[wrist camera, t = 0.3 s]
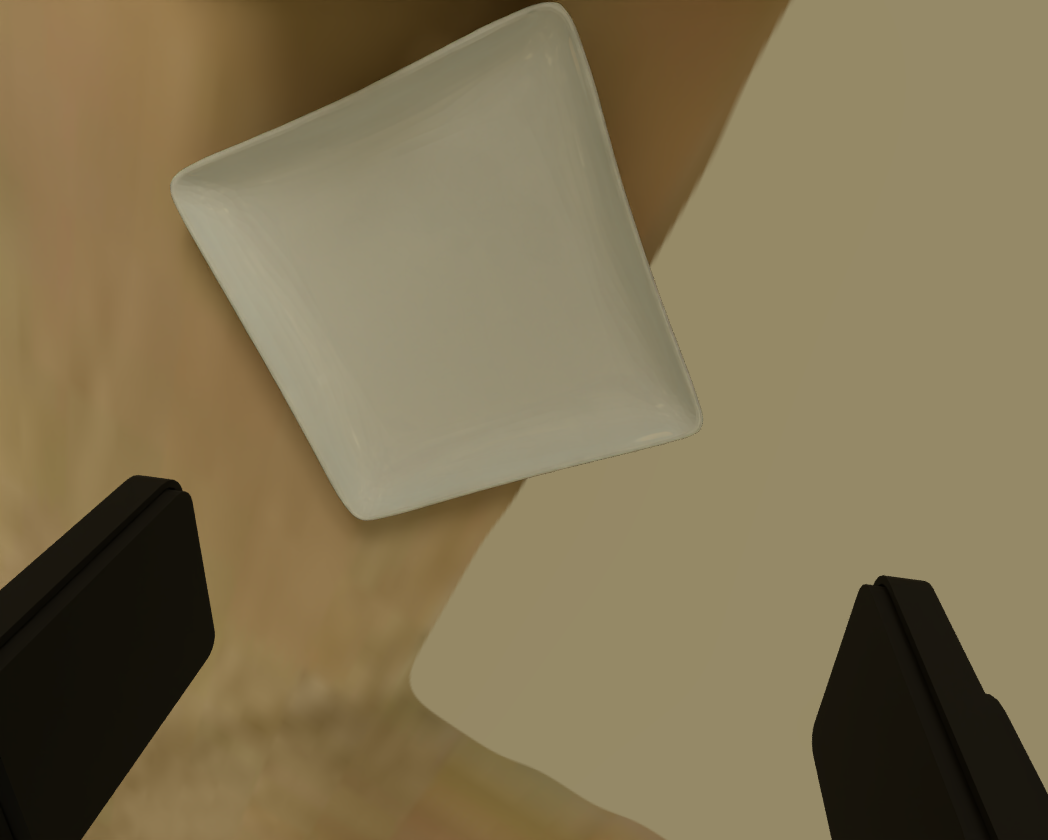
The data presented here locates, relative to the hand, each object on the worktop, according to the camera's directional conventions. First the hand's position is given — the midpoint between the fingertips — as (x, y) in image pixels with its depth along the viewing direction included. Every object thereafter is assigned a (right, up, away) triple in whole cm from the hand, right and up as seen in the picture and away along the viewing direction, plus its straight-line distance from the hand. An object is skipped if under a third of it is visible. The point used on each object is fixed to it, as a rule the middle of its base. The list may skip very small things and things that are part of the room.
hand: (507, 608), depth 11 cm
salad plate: (-3, +10, +30) cm, 32 cm away
